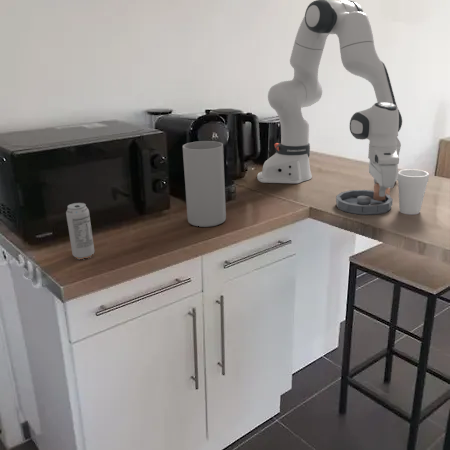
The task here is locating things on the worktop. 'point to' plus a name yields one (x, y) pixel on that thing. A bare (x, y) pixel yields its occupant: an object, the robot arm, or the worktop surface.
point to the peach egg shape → (376, 191)
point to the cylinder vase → (204, 183)
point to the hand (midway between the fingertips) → (379, 193)
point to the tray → (354, 208)
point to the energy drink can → (80, 230)
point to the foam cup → (411, 190)
